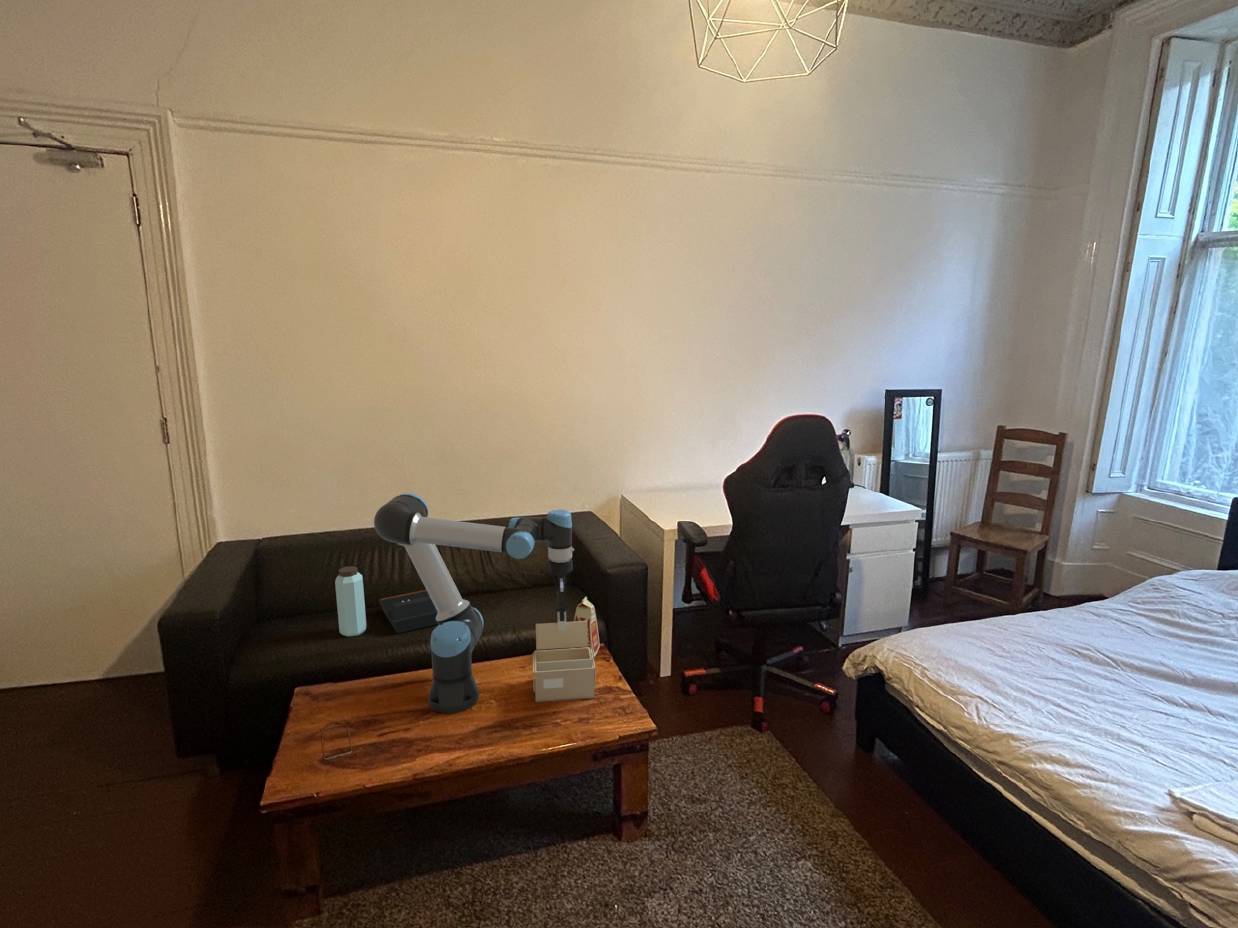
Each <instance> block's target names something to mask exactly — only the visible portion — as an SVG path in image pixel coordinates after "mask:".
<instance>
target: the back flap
mask: <svg viewBox="0 0 1238 928" xmlns="http://www.w3.org/2000/svg"><path fill="white" fill-rule="evenodd" d="M535 640H536V641H535V643H536V644H535V645H536V650H535V651H540V650H556V649H571V647H585V646H588V639H587V621H576V622H574V621H566V630H558V622H547V623H546V622H545V623H544V622H543V623H535Z"/></svg>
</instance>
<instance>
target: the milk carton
mask: <svg viewBox="0 0 1238 928" xmlns="http://www.w3.org/2000/svg"><path fill="white" fill-rule="evenodd" d="M596 615H597V614H596V609H595V606H594V605H593V603H591V602H590V601H589V600H588V597H587V596H585V597H584V598H583V599H582V600H581V602H580V603H579V604H578V605H577V606H576V608H575V614H574V617H573V622H576V621H587V639H588V646H585V647H570V649H571V648H587V647H590V652H591V649H592V654H593V658H595V657H596V655H597V654H598V652H599V649H600V646H601V645H600V636H599V629H598V621H597V616H596Z"/></svg>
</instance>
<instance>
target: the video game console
mask: <svg viewBox="0 0 1238 928" xmlns="http://www.w3.org/2000/svg"><path fill="white" fill-rule="evenodd" d="M378 602H379V605H380V607H381V610H382V612H383V613H384V615H385V616H386V618H387V620H388V621H389V624H391V626H392V628H393V630H394V631H395V633H397V634H401V633H404V632H409V631H414V630H418V629H423V628H427V627H432V626H436V625H437V626H438V623H437V621H436V616H437V610H436V608H435V606H434V604H433V602H432V600H431V598H430V596H429V594H428V592H427V590H426V589H424V590H423V589H422V590H418V591H413V592H408V593H403V594H398V595H394V596H388V597H382V598H380V599H378Z"/></svg>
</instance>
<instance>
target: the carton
mask: <svg viewBox="0 0 1238 928" xmlns="http://www.w3.org/2000/svg"><path fill="white" fill-rule="evenodd" d="M591 658H594V657H593V654H592V649H591V652H590V647H587V648H571V647H570V648H555V649H540V650H534V652H532V677H533V678H532V679H533V681H532V683H533V693H534V692H535V693H534V694H535V703H546V702H548V703H549V702H558V701H571V700H572V701H573V700H586V699H594V698H595V688H596V687H597V686H596V679H597V676H596V664H595V660H593V664H592V667H591V668H577V669H563V670H548V671H537V662H547V661H562V660H577V659H591Z"/></svg>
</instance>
